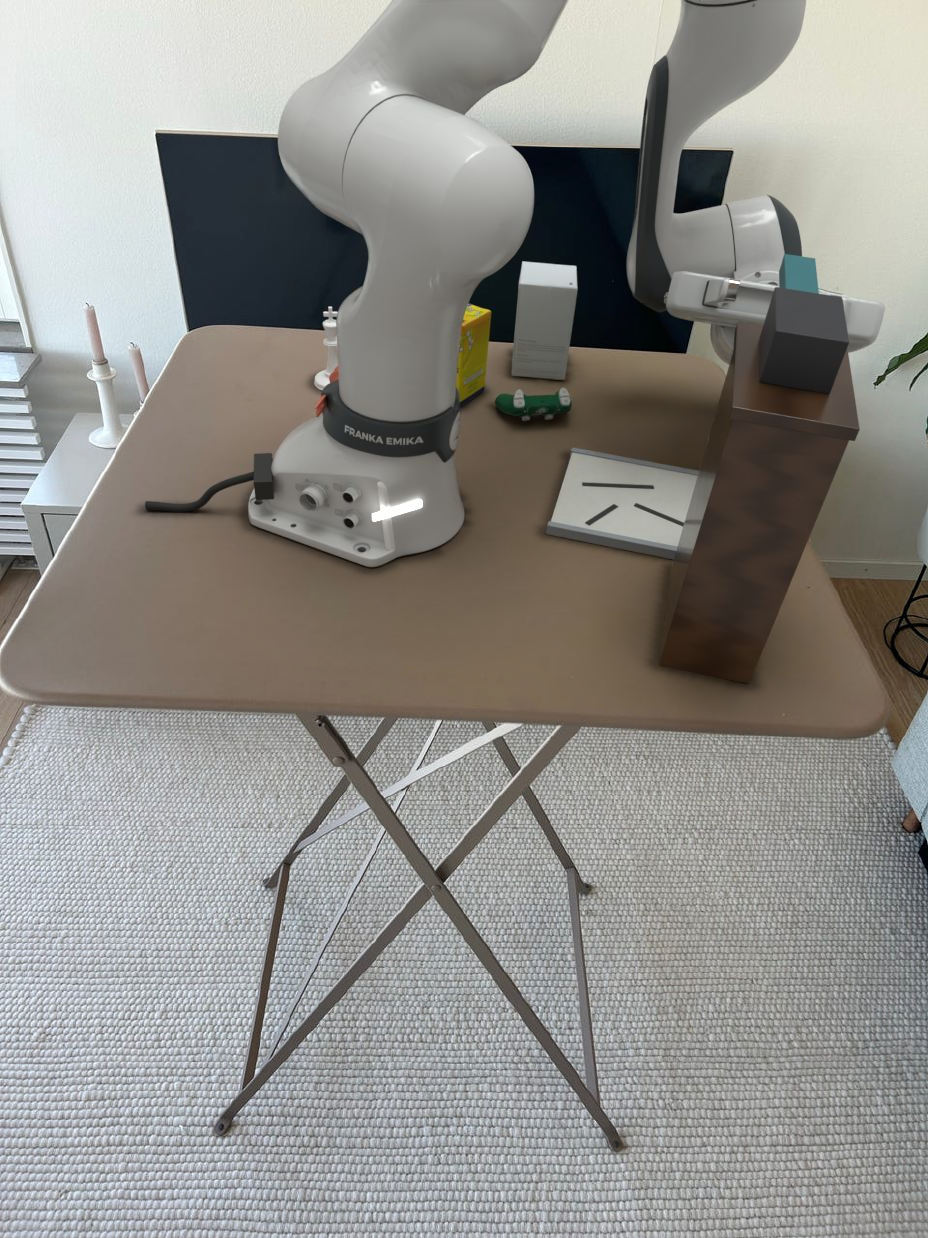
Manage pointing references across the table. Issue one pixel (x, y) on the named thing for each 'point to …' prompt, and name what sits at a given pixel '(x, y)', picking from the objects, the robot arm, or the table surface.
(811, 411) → the walnut pedestal
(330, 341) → the chess piece
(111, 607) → the table surface
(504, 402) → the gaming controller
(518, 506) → the table surface
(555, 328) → the white packaging box
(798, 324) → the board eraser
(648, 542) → the whiteboard
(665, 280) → the robot arm
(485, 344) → the supplement box
